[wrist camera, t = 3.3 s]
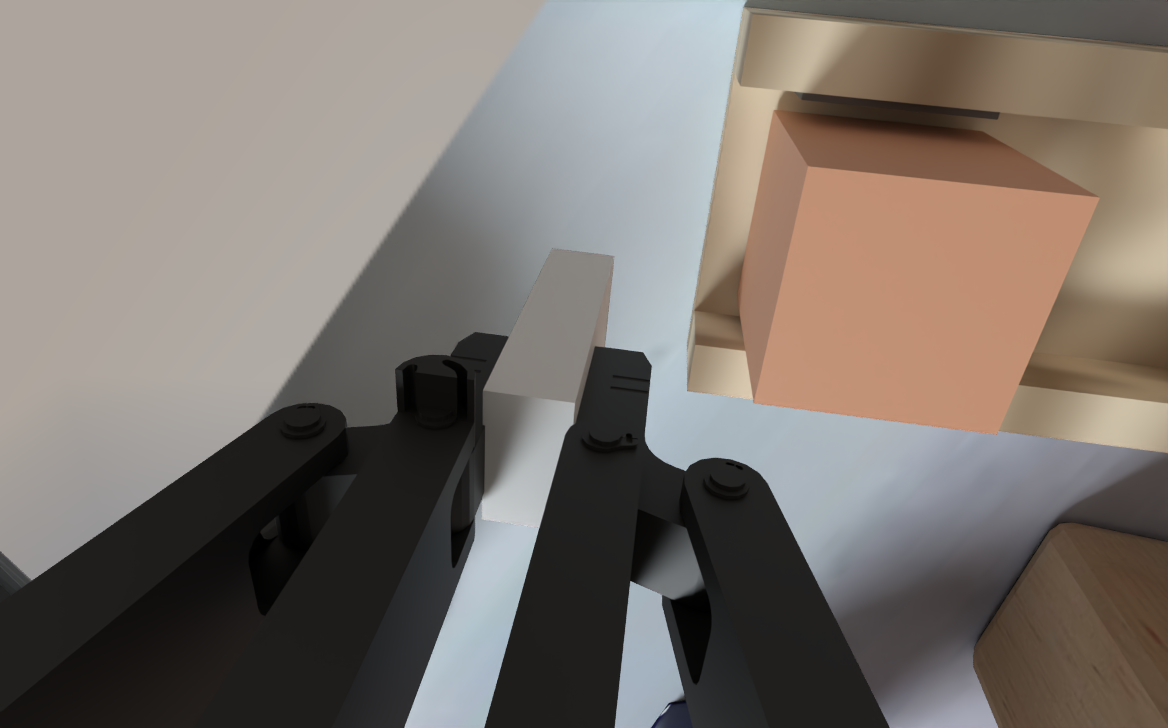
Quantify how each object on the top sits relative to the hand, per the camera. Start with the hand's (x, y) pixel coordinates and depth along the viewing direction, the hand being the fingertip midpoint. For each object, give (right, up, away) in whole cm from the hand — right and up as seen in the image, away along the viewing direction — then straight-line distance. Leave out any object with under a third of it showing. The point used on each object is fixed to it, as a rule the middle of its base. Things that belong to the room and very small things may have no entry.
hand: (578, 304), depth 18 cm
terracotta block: (+10, +4, +9) cm, 14 cm away
